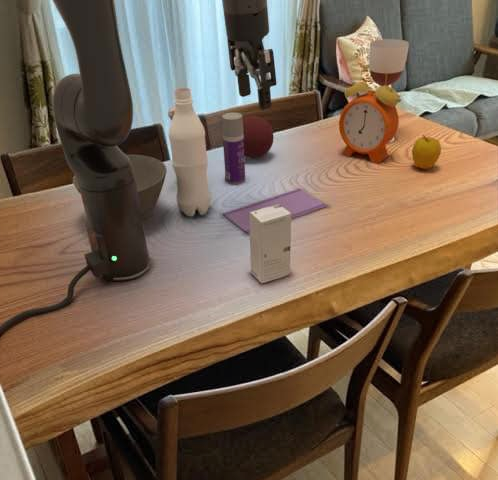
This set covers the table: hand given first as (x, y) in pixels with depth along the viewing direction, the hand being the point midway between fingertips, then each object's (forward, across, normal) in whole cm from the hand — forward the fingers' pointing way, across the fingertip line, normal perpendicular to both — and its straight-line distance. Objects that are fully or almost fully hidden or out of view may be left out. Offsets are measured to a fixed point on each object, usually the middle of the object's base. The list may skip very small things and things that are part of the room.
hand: (255, 101), depth 102 cm
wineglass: (+27, -19, +44) cm, 55 cm away
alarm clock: (+26, -11, +34) cm, 44 cm away
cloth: (+22, +3, 0) cm, 23 cm away
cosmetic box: (+21, +24, -12) cm, 34 cm away
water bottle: (+21, -5, -15) cm, 26 cm away
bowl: (+20, -10, -28) cm, 36 cm away
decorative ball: (+24, -25, +9) cm, 35 cm away
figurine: (+22, -18, -11) cm, 30 cm away
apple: (+26, +2, +41) cm, 49 cm away
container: (+23, -15, -1) cm, 27 cm away
